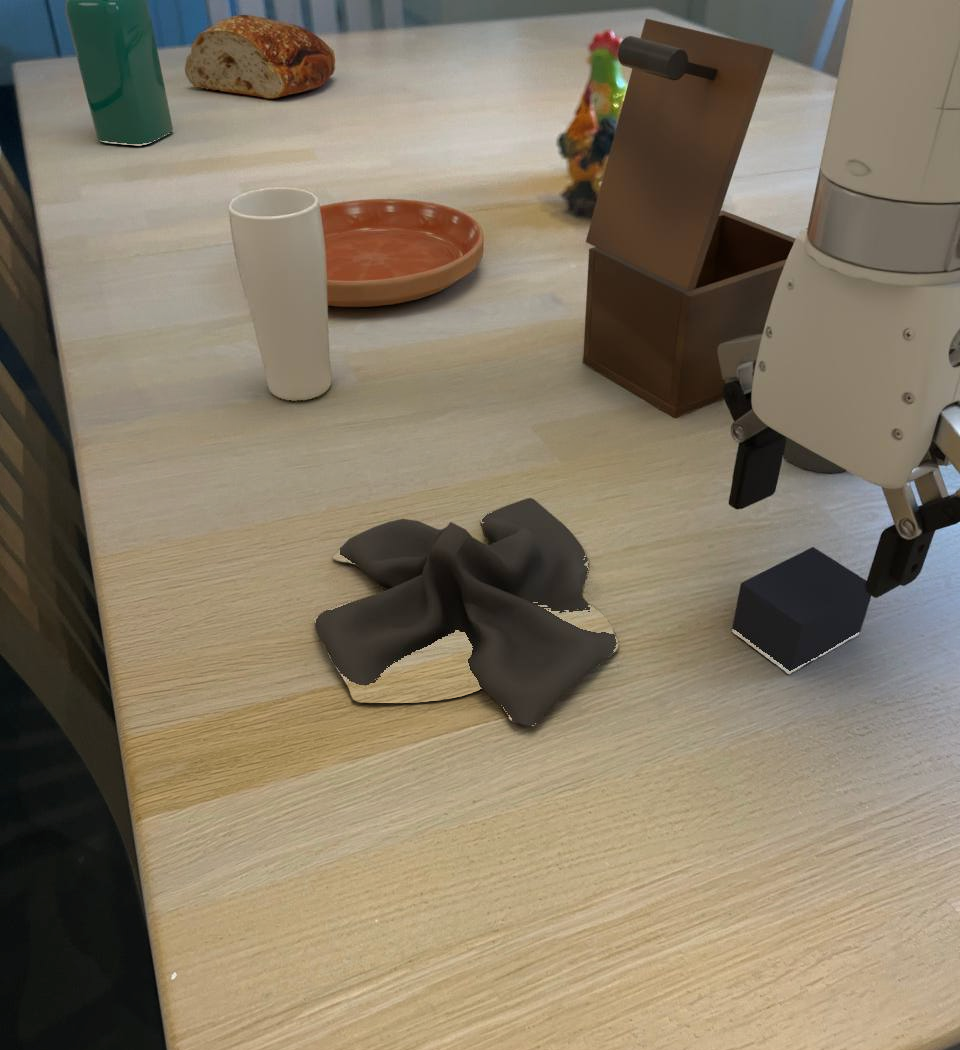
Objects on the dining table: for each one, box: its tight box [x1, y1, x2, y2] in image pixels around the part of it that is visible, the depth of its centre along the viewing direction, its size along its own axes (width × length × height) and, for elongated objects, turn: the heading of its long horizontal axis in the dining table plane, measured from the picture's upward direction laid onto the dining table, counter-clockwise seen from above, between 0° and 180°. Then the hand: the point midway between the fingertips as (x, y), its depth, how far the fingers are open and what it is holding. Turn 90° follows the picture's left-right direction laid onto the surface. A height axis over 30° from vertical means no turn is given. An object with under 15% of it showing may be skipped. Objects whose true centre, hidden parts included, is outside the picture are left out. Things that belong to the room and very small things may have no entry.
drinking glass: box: [227, 186, 333, 402], centre depth 79 cm, size 7×7×15 cm
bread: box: [184, 14, 336, 99], centre depth 156 cm, size 20×18×10 cm
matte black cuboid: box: [731, 546, 872, 671], centre depth 59 cm, size 6×5×4 cm
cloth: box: [314, 497, 617, 727], centre depth 61 cm, size 22×19×6 cm
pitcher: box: [64, 0, 174, 144], centre depth 132 cm, size 10×8×22 cm
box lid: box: [585, 18, 775, 290], centre depth 71 cm, size 15×12×6 cm
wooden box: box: [582, 209, 797, 418], centre depth 83 cm, size 15×12×10 cm
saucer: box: [319, 198, 485, 308], centre depth 101 cm, size 23×23×4 cm
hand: (816, 541), depth 55 cm, fingers open, 9 cm apart
